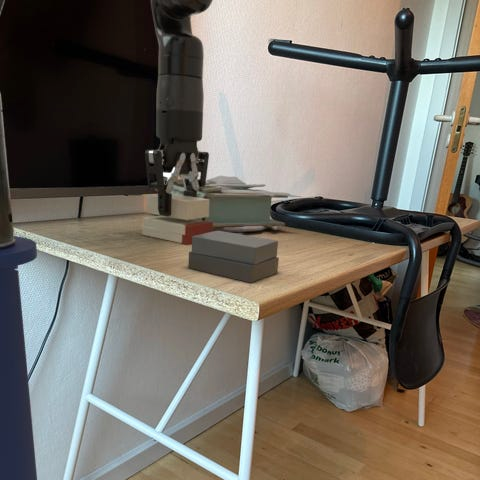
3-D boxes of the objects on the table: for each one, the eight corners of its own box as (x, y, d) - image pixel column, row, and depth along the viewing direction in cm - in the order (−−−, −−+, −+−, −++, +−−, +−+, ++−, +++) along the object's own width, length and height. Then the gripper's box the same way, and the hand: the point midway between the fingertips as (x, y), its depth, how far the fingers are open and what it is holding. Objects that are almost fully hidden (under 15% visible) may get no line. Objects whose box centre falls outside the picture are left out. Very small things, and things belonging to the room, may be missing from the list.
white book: (187, 220, 80) (187, 201, 79) (146, 212, 84) (146, 195, 83) (208, 216, 84) (209, 199, 83) (169, 210, 89) (169, 193, 88)
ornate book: (145, 216, 111) (202, 236, 86) (145, 172, 108) (203, 180, 83) (232, 215, 122) (304, 233, 97) (234, 175, 119) (309, 183, 94)
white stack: (186, 244, 80) (187, 226, 79) (140, 235, 85) (140, 217, 84) (212, 239, 86) (213, 222, 85) (168, 230, 91) (168, 214, 90)
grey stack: (250, 283, 61) (253, 248, 59) (187, 267, 66) (189, 235, 64) (278, 272, 67) (281, 241, 65) (218, 259, 72) (220, 229, 70)
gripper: (189, 111, 86) (186, 208, 92) (130, 103, 75) (131, 214, 80) (224, 113, 82) (219, 213, 88) (168, 104, 71) (166, 220, 77)
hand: (177, 213), depth 84 cm, fingers closed on white book, 6 cm apart
